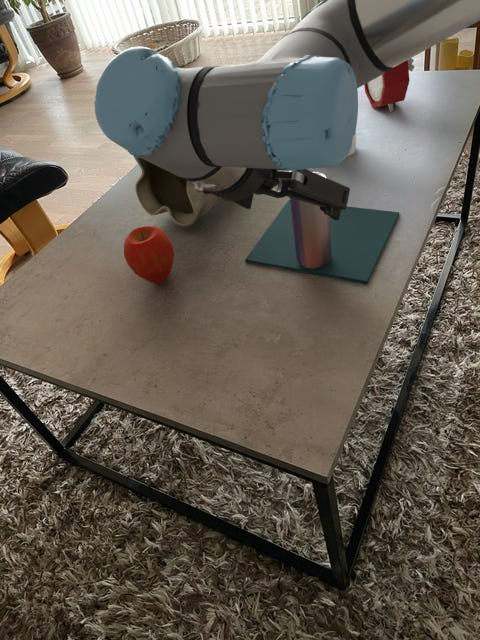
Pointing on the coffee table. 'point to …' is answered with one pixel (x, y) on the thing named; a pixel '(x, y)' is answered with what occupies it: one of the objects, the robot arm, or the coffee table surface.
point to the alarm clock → (389, 86)
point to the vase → (170, 195)
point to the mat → (346, 242)
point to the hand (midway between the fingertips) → (292, 204)
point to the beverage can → (311, 234)
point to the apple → (149, 254)
